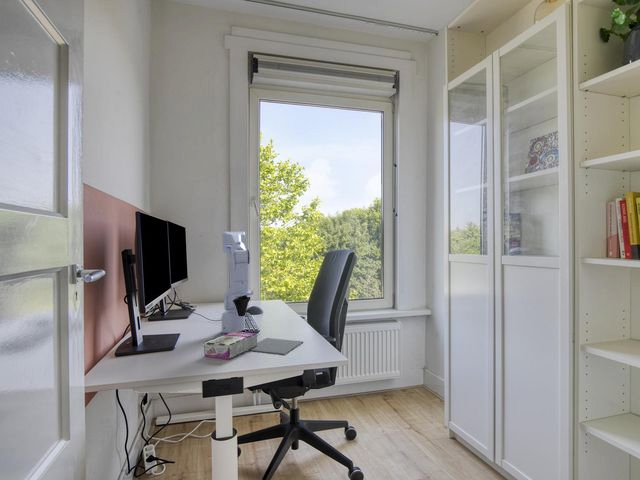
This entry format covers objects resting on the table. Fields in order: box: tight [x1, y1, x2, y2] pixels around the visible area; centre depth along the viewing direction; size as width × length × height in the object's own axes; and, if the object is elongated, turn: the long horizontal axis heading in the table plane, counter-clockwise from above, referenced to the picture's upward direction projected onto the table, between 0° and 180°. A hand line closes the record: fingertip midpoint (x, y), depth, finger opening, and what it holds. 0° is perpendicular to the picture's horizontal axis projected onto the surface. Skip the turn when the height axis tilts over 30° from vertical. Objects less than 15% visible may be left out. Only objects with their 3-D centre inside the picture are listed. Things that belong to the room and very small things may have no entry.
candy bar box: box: [203, 331, 258, 360], centre depth 134 cm, size 11×5×16 cm
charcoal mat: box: [247, 337, 304, 356], centre depth 140 cm, size 16×16×1 cm
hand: (241, 316), depth 145 cm, fingers closed
